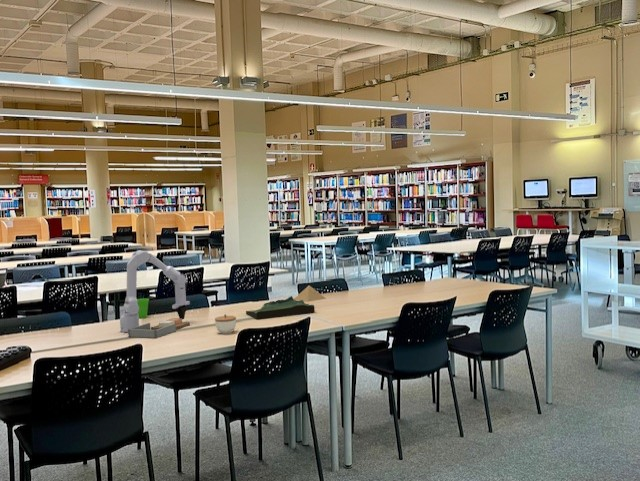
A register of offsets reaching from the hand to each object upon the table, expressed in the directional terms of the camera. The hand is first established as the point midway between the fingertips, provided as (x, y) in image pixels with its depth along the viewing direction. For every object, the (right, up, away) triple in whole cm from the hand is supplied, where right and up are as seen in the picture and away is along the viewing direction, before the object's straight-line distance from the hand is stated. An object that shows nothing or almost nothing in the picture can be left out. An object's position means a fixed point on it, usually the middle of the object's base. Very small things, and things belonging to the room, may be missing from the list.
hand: (181, 319), depth 340 cm
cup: (-30, -3, +26) cm, 39 cm away
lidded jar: (+30, -3, -29) cm, 42 cm away
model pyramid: (+71, +4, +72) cm, 101 cm away
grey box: (-9, -4, -25) cm, 27 cm away
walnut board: (-4, -3, -10) cm, 11 cm away
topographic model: (+54, 0, +20) cm, 58 cm away
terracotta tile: (-3, -2, -7) cm, 8 cm away
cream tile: (-5, -2, -13) cm, 15 cm away
